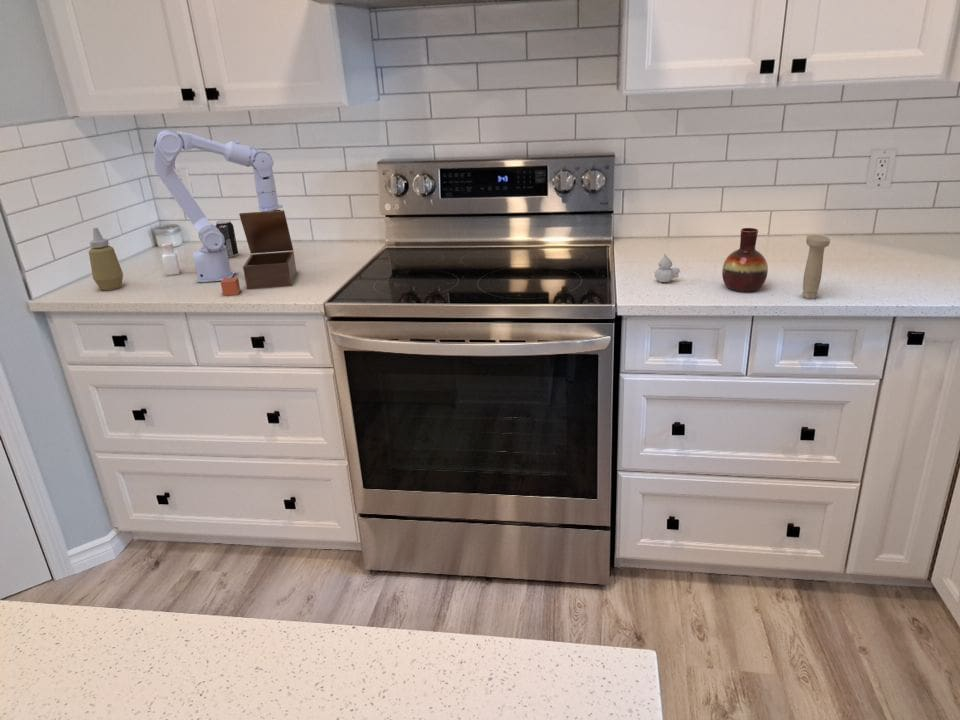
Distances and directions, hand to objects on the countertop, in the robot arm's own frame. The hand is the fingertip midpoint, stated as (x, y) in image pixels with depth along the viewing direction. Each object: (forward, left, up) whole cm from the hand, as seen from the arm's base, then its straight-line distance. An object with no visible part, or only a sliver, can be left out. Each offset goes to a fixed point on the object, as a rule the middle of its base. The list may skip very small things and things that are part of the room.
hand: (273, 235), depth 214 cm
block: (-10, -23, -10) cm, 27 cm away
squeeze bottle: (-48, -8, -11) cm, 50 cm away
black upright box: (-19, +20, -11) cm, 30 cm away
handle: (+139, -65, -11) cm, 154 cm away
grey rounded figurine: (+110, -44, -11) cm, 119 cm away
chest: (0, -14, -10) cm, 17 cm away
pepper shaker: (-33, +3, -11) cm, 35 cm away
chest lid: (0, -10, +3) cm, 10 cm away
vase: (+127, -54, -11) cm, 138 cm away
